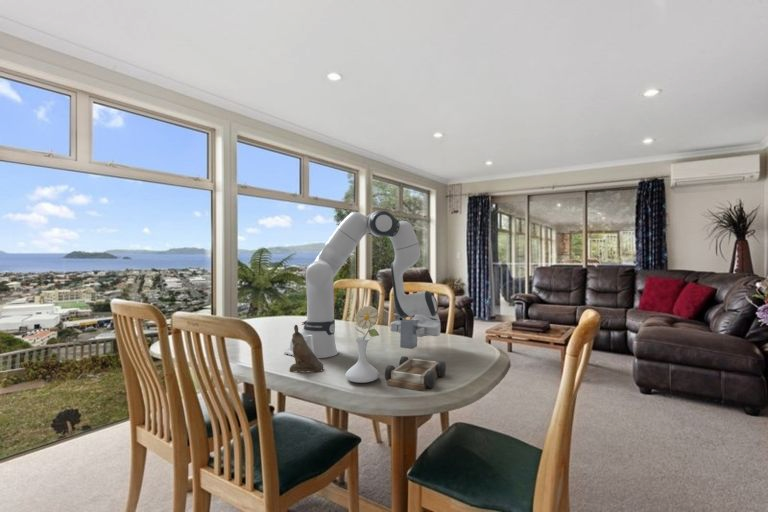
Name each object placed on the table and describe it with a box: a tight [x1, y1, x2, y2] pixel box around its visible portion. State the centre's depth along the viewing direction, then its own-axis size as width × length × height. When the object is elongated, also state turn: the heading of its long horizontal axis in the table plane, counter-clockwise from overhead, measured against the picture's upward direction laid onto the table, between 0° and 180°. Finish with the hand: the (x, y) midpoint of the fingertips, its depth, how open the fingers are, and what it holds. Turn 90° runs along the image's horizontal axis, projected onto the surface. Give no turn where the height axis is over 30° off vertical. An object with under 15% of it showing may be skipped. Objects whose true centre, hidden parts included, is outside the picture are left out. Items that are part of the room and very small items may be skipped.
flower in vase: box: [344, 305, 381, 384], centre depth 124 cm, size 13×11×25 cm
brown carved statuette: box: [289, 324, 324, 372], centre depth 135 cm, size 12×6×18 cm, turn 85°
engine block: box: [399, 318, 418, 350], centre depth 145 cm, size 5×5×10 cm
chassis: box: [384, 355, 447, 392], centre depth 126 cm, size 15×20×5 cm
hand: (408, 331), depth 144 cm, fingers closed on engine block, 5 cm apart
